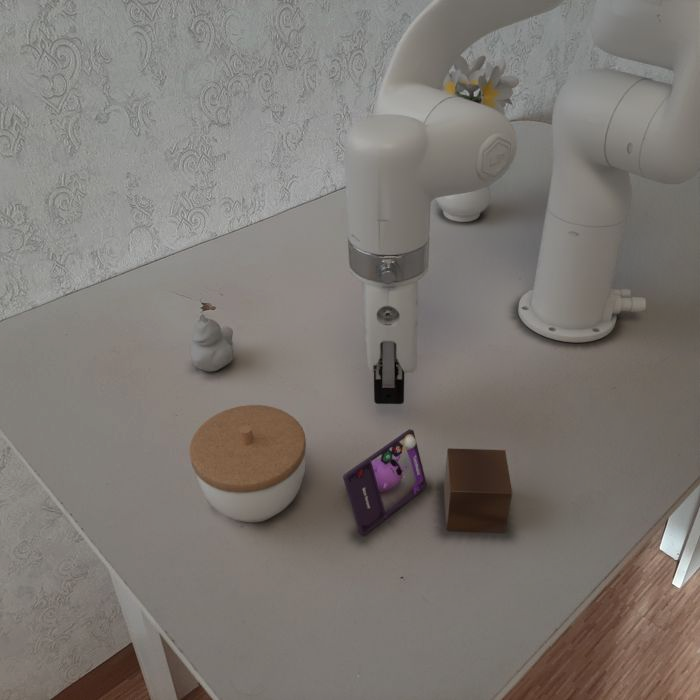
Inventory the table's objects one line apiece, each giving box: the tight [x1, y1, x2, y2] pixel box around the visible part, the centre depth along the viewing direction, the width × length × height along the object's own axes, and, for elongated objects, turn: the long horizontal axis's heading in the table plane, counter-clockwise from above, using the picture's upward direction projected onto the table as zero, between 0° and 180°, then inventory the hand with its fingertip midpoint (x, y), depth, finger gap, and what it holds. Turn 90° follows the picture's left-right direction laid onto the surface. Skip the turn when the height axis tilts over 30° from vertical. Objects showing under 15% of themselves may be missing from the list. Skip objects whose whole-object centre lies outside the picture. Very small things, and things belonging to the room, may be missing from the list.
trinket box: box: [189, 404, 307, 524], centre depth 68 cm, size 11×11×9 cm
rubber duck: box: [189, 313, 234, 372], centre depth 86 cm, size 5×7×8 cm
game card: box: [342, 428, 428, 537], centre depth 70 cm, size 7×5×9 cm
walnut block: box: [443, 447, 513, 534], centre depth 68 cm, size 6×6×6 cm
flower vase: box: [434, 55, 520, 223], centre depth 114 cm, size 13×18×25 cm
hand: (389, 398), depth 78 cm, fingers closed
